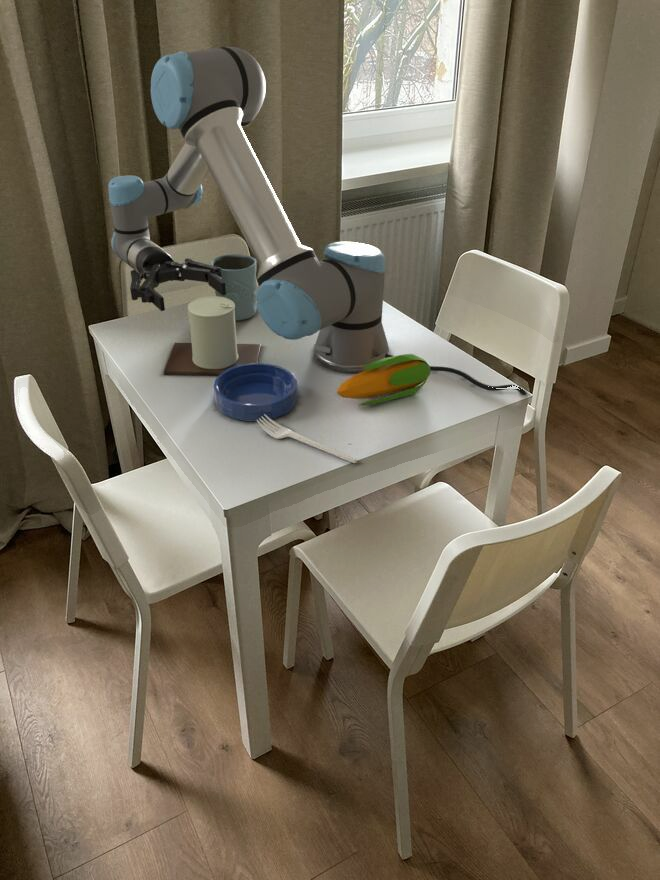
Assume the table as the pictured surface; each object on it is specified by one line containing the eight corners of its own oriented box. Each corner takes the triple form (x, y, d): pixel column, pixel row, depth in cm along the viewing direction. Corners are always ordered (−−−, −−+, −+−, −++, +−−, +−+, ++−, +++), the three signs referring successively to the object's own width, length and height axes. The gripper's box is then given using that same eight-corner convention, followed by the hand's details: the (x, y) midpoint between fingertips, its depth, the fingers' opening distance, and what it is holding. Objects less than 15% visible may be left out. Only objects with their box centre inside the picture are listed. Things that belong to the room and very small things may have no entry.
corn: (441, 356, 138) (348, 381, 130) (439, 392, 142) (348, 419, 134) (418, 342, 144) (328, 365, 136) (417, 377, 148) (328, 402, 140)
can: (235, 370, 147) (231, 314, 140) (188, 369, 147) (182, 313, 140) (240, 347, 155) (237, 294, 148) (196, 346, 155) (191, 293, 148)
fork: (350, 469, 123) (351, 460, 122) (255, 429, 132) (254, 421, 131) (361, 459, 125) (361, 450, 124) (266, 421, 134) (266, 412, 133)
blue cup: (231, 325, 164) (228, 273, 157) (205, 311, 170) (200, 260, 163) (267, 313, 170) (266, 262, 163) (241, 299, 176) (238, 249, 169)
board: (260, 347, 156) (260, 344, 156) (255, 376, 147) (255, 373, 146) (175, 345, 157) (174, 342, 156) (164, 374, 147) (163, 371, 146)
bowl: (298, 379, 146) (298, 363, 144) (294, 423, 134) (294, 406, 131) (221, 378, 146) (219, 362, 144) (209, 421, 134) (208, 404, 132)
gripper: (204, 266, 172) (249, 299, 158) (99, 290, 160) (137, 328, 146) (201, 235, 168) (247, 266, 153) (93, 257, 156) (132, 293, 142)
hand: (194, 296), depth 150 cm, fingers open, 13 cm apart
